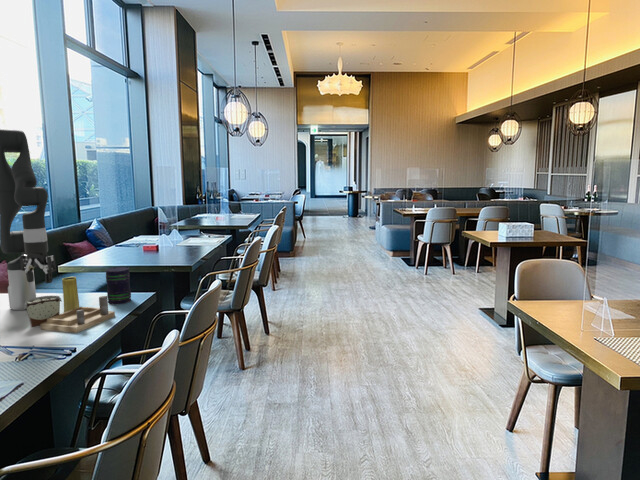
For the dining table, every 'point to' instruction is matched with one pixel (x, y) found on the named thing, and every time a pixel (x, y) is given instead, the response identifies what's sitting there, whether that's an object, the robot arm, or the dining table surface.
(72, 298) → the vase
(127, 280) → the storage jar
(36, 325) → the half lattice cake
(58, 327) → the carrier board
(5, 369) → the dining table surface
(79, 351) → the dining table surface
